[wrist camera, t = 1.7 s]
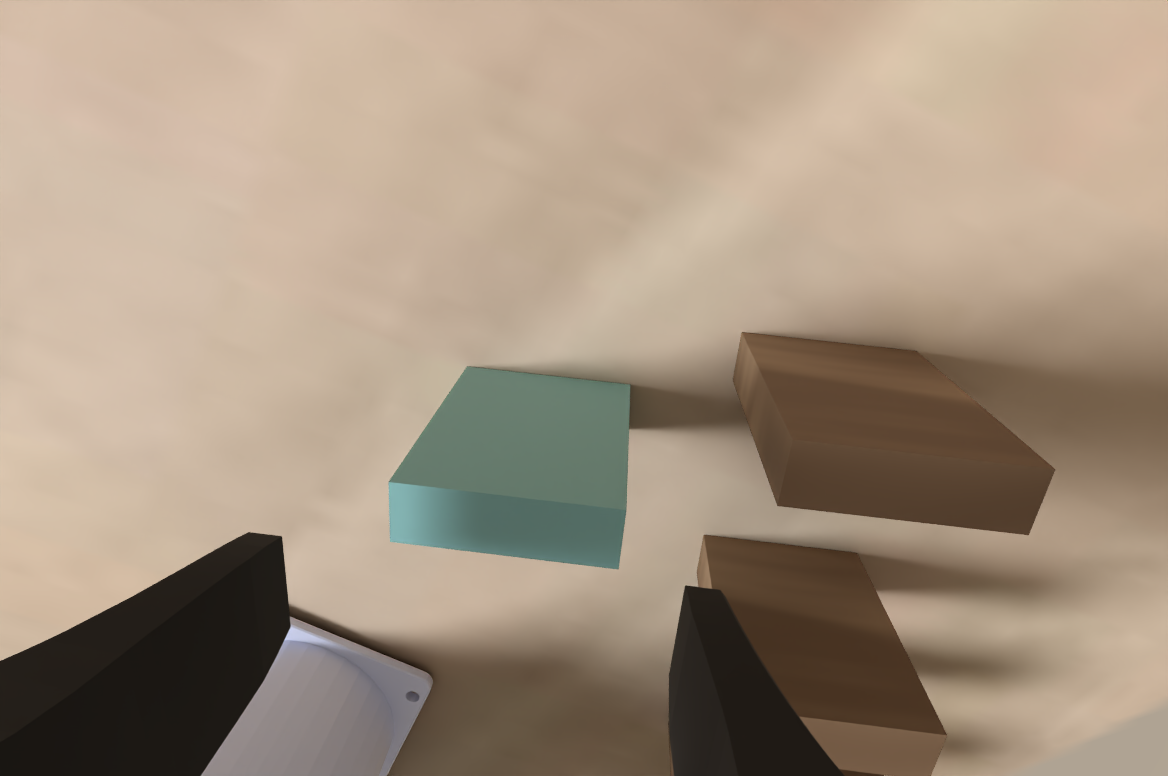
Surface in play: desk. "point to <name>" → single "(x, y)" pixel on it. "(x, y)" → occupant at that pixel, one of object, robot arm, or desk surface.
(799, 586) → the walnut tile
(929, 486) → the walnut tile
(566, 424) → the teal tile
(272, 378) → the desk surface
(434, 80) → the desk surface
